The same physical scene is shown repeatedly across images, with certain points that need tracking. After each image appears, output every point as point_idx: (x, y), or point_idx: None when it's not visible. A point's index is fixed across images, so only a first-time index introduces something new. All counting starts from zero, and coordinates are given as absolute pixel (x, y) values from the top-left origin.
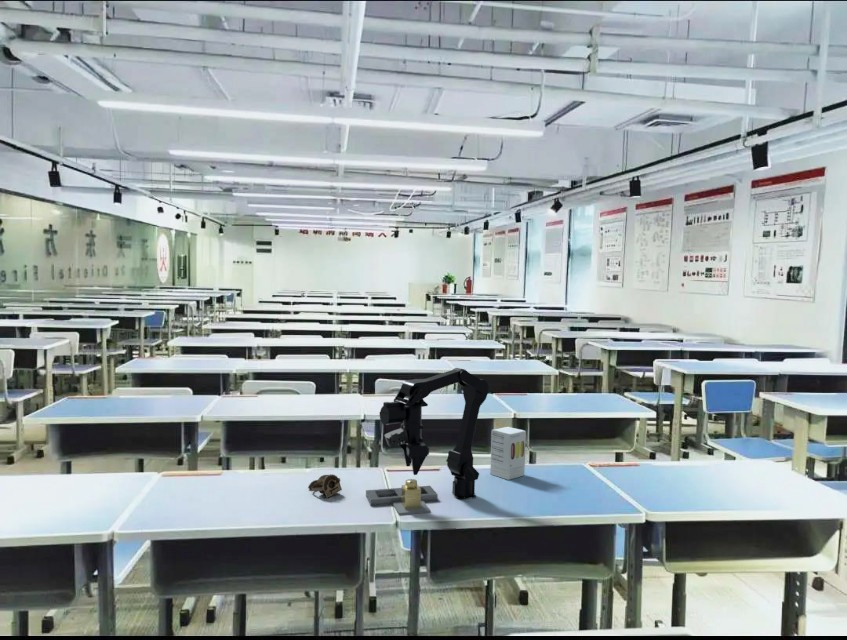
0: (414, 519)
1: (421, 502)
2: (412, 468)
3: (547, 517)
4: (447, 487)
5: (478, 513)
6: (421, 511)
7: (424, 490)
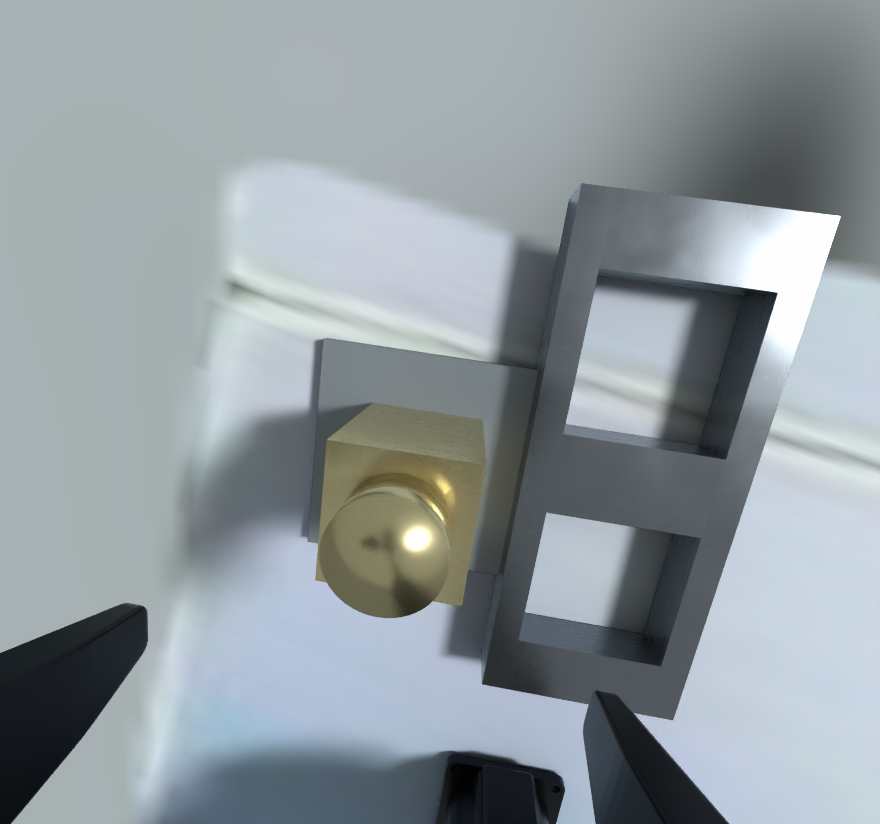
0: (232, 403)
1: None
2: (33, 666)
3: None
4: None
5: (227, 738)
6: (313, 486)
7: (621, 651)
